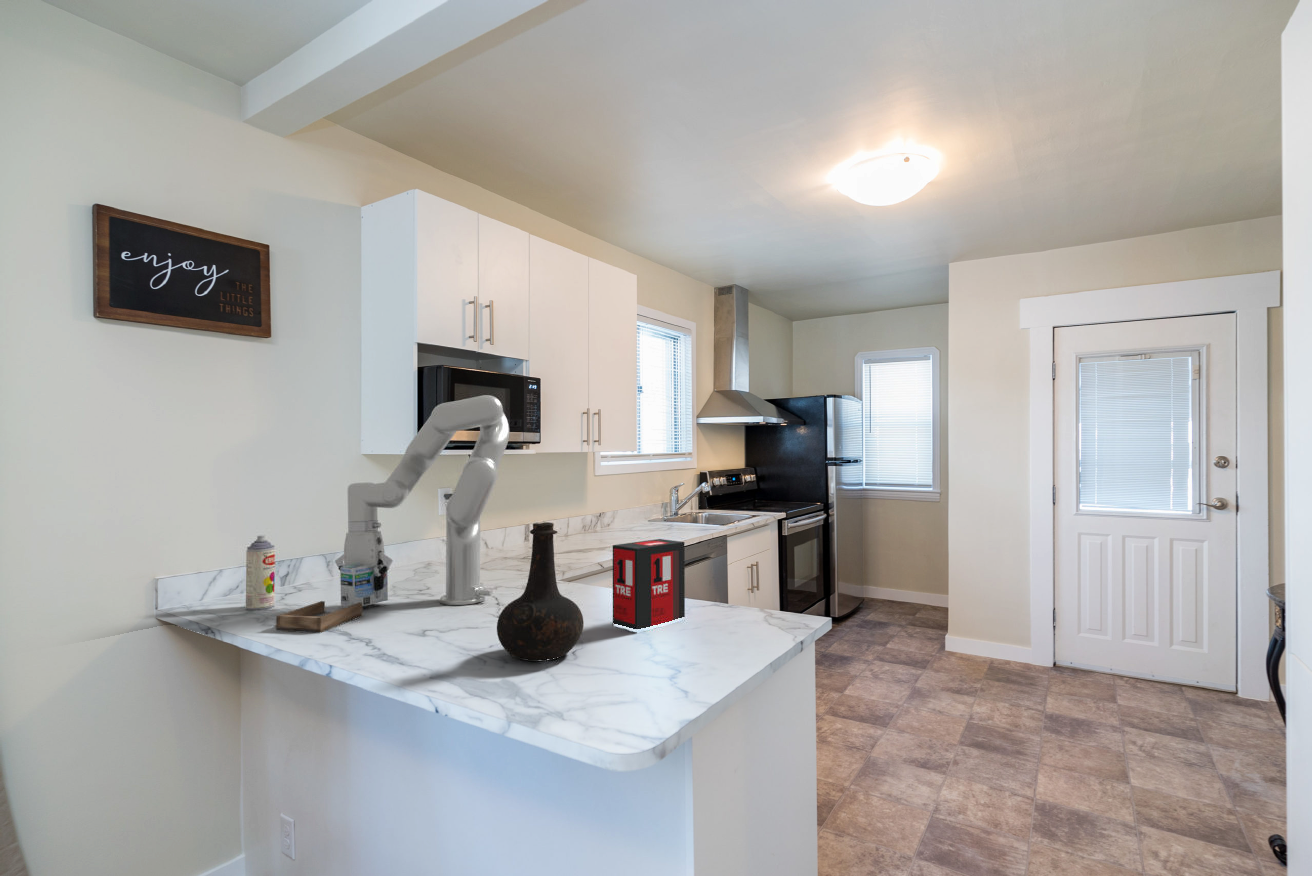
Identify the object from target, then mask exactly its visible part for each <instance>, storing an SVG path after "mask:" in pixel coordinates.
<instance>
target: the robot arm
mask: <svg viewBox="0 0 1312 876" xmlns="http://www.w3.org/2000/svg"><path fill="white" fill-rule="evenodd" d="M475 428H479V435H478V437H477V439H476V441H475V444H474V448H473V449H472V452H471V454H470V456H469V457H468V460H467V462H466V463H465V464H464V466H463V468H462V471H461V475H460V477H459V479H458V481H457V484H456V485H455V487H454V490H453V492H452V494H451V496H450V497H449V498H448V500H447V502H446V505H445V520H446V522H445V526H446V529H445V530H446V531H445V533H446V534H445V535H446V536H445V537H446V538H445V540H446V541H445V544H446V545H445V594H444V595H442V596H441V597H440V598H439V599H440V600H439V601H440V603H441V604H442V605H443V604H444V605H450V606H465V605H473V604H478V603H481V602H484V601H485V600H486V596H487V597H492V595H493V589H492V588H491V587H488V588H487V587H486V588H485V587H484V583H481V516H482V515H483V512H484V510H485V507H486V505H487V504H488V501H489V499H490V496H491V493H492V492H493V489H494V487H495V485H496V482H497V479H498V469H499V465H500V464H501V461H502V458H503V455H504V454H505V450H506V448H507V446H508V443H509V438H510V425H509V421H508V419H507V416H506V414H505V413H504V408H503V403H502V402H501V401H500V400H499V399H498V398H497V397H495V396H494V395H490V394H487V395H486V394H485V395H478V396H474V397H469V398H464V399H461V400H460V399H459V400H454V401H448V402H443V403H440V404H438V405H436V406H435V407H434V408H433V410H432V411H431V414H430V415H429V417H428V418H427V420H426V421H425V423H423V426H422V427H421V428H420V429H419V431H418V432H417V433H416V435H415V436H414V437H413V439H412V440H411V442H410V443H409V444H408V446H407V448H406V449H405V452H404V454H403V456H402V458H401V459H400V461H399V463H398V464H397V466H396V468H395V469H393V471H392V472H391V474H390V475H389V477H388V478H387V479H386V481H384V482H379V483H374V482H353V483H350V484H348V486H347V530H348V531H347V532H346V534H345V538H344V539H345V540H344V544H343V545H344V547H343V554H342V555H340V556H339V557H338V558H337V559H335V561H334V563H335V565H336V566H337V567H338V570H339V571H340V567H344V566H367V567H368V568H372V570H373V571H374V573H375V574H376V576H375V577H374V590H375V591H378V590H381V589H383V586H384V574H385V573H386V571H387V572H388V571H389V570H390V567H391V565H392V563H393V562H394V561H393V559H392V558H390V557H389V556H387V555H386V554H385V546H384V540H383V539H384V538H383V535H382V532H381V530H378V529H380V528H381V527H382V522H379V520H378V508H382V509H395V508H397V507H399V506H401V505H402V504H403V503H404V502H405V500H406V499H407V498H408V496H409V495H410V494H411V492H412V490H413V489H414V488H415V486H416V485H417V484H418V482H420V480H421V479H422V477H423V476H424V474H426V472H427V471H428V470H429V469H430V468H431V467H432V466H433V465H434V464H435V461H436V460H437V459H438V458H439V456H440V455H441V454H442V452H443V451H444V449H445V448H446V447H447V445H448V444H449V443H450V441H451V440H452V438H453V437H454V435H455V434H456V433H457V432H459V431H466V430H469V429H475ZM384 563H385V564H384ZM381 564H382V565H384V566H383V567H382V565H381Z"/></svg>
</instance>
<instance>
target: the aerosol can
mask: <svg viewBox="0 0 1312 876" xmlns="http://www.w3.org/2000/svg"><path fill="white" fill-rule="evenodd" d="M246 548H247V549H246V553H245V556H246V558H245V559H246V560H245V561H246V562H245V564H246V565H245V568H246V570H245V610H246V611H248V610H258V611H262V610H261V609H265V610H268V609H267V608H270V609H272V608H271V607H273V608H274V607H275V586H276V585H275V580H276V579H275V578H276V577H275V575H276V574H275V572H276V571H275V569H276V561H275V560H276V548H275V545H273V544H272V543H271V542H270V541H268V540H267V539H266V538H265V535H264V534H263V535H262V534H259V535H257V538H256V539H255V540H254V542H251V544H250V546H247V547H246Z"/></svg>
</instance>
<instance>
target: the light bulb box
mask: <svg viewBox="0 0 1312 876" xmlns="http://www.w3.org/2000/svg"><path fill="white" fill-rule="evenodd" d="M384 564H385V563H384ZM381 565H382V564H381ZM383 566H384V565H382V567H383ZM339 573H340V576H339V577H340V578H339V579H340V606H341V607H348V606H351V605H354V604H356V603H362V607H365V606H368V605H375V604H379V603H381V602H382V603H383V602H386V601H388V600H389V598H388V597H389V596H388V592H389V590H388V589H389V588H388V587H389V586H388V585H389V584H388V581H389V579H388V570H387V571H386V573H385V574H384V586H383V589H381V590H378V591H375V590H374V577H375V576H376V574H375V573H374V571H373V570H372V568H368V567H367V566H344V567H340V570H339Z"/></svg>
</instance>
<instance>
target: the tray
mask: <svg viewBox="0 0 1312 876" xmlns="http://www.w3.org/2000/svg"><path fill="white" fill-rule="evenodd" d="M325 603H326V602H325V600H322V601H321V600H320V601H317V602H314V603H312V604H308V605H306V606H302V607H298V608H297V609H293V610H290V611H288V612H285V613H284V612H283V613H281V614H279V615H276V616H275V617H276V619H275V620H276V621H275V623H276V625H275V629H276V630H282V632H296V631H306V632H305V633H316V632H321V633H323V632H322V631H324V632H326V631H328V630H327V629H329V630H331V629H333V628H332V627H334V628H336V627H338V626H337V625H339V626H341V625H343V624H342V623H344V624H346V623H349V622H351V621H353V619H354V620H355V618H356V619H358V617H359V618H361V617H363V606H362V603H356V604H354V605H351V606H348V607H346V606H344V607H343V608H340V609H337V610H334V611H325V609H326V605H325ZM350 620H351V621H350ZM348 621H349V622H348ZM345 622H346V623H345ZM340 624H341V625H340ZM335 626H336V627H335ZM330 628H331V629H330ZM325 630H326V631H325Z"/></svg>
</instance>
